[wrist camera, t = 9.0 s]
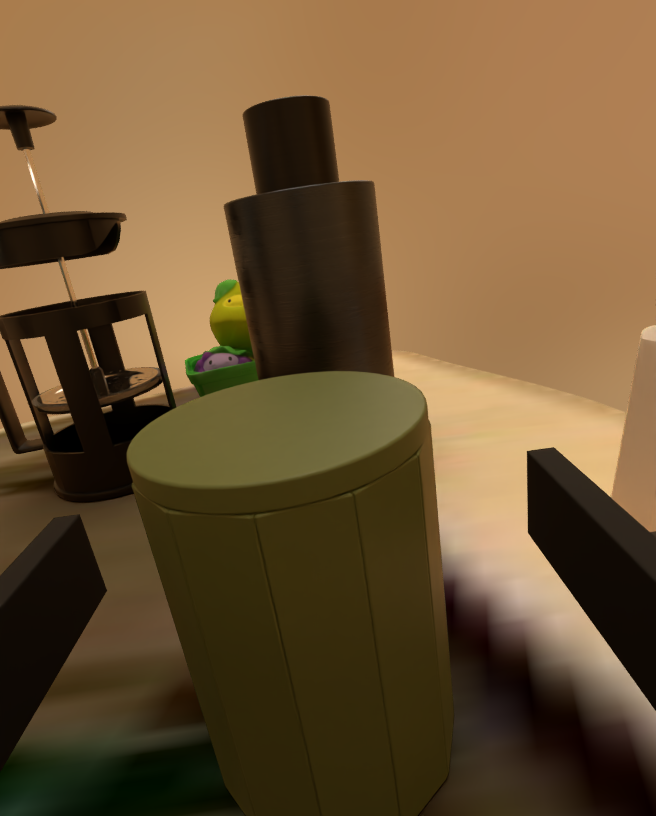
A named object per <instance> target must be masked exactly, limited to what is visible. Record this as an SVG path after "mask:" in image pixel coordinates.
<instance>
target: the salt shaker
mask: <svg viewBox="0 0 656 816" xmlns="http://www.w3.org/2000/svg"><path fill="white" fill-rule="evenodd" d="M611 498H612V499H613V500H614V501H615V502H616V503H617V504H619V505H620V506H621V507H622V508H623V509H624V510H625V511H627V512H628V513H629V514H630V515H631V516H632V517H633V518H634V519H636V520H637V521H638V522H639V523H640V524H641V525H642V526H644V527H645V528H646V529H647V530H648V531H649V532H653V531H656V325H655V326H650V327H647V328H645V329H644V330H643V331H642V333H641V338H640V343H639V347H638V352H637V358H636V363H635V369H634V375H633V380H632V385H631V391H630V396H629V402H628V407H627V413H626V418H625V424H624V429H623V435H622V440H621V446H620V451H619V457H618V462H617V468H616V473H615V479H614V484H613V490H612V495H611Z"/></svg>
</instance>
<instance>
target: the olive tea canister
mask: <svg viewBox="0 0 656 816" xmlns="http://www.w3.org/2000/svg"><path fill="white" fill-rule="evenodd" d="M127 464H128V467H129V470H130V473H131V476H132V480H133V483H132V489H133V492H134V495H135V498H136V502H137V505H138V508H139V511H140V514H141V518H142V521H143V524H144V527H145V530H146V534H147V537H148V540H149V543H150V546H151V550H152V553H153V556H154V559H155V562H156V566H157V569H158V572H159V575H160V578H161V582H162V585H163V588H164V591H165V595H166V598H167V601H168V604H169V607H170V611H171V614H172V617H173V620H174V623H175V627H176V630H177V633H178V636H179V639H180V643H181V646H182V649H183V652H184V655H185V659H186V662H187V665H188V668H189V671H190V675H191V678H192V681H193V684H194V687H195V691H196V694H197V697H198V700H199V704H200V707H201V710H202V713H203V716H204V720H205V723H206V726H207V729H208V732H209V736H210V739H211V742H212V745H213V748H214V752H215V755H216V758H217V761H218V764H219V768H220V771H221V774H222V777H223V780H224V784H225V787H226V788H227V789H228V791H229V792H230V794H231V795H232V797H233V798H234V800H235V801H236V802H237V804H238V805H239V807H240V808H241V810H242V811H243V812H244V814H245V815H246V816H418V814H419V813H420V812H421V811H422V809H423V808H424V807H425V805H426V804H427V803H428V802H429V800H430V799H431V798H432V796H433V795H434V794H435V793H436V791H437V790H438V789H439V787H440V786H441V785H442V784H443V782H444V781H445V780H446V778H447V775H448V774H449V765H450V755H451V744H452V733H453V723H454V707H453V694H452V682H451V670H450V657H449V645H448V633H447V620H446V608H445V596H444V583H443V571H442V559H441V546H440V534H439V522H438V509H437V497H436V485H435V473H434V460H433V448H432V436H431V424H430V421H429V420H428V409H427V402H426V398H425V397H424V395H423V394H422V392H421V391H420V390H419V389H418V388H417V387H416V386H414V385H412V384H411V383H409V382H407V381H404V380H401V379H399V378H395V377H391V376H387V375H382V374H376V373H368V372H354V371H328V372H312V373H302V374H293V375H286V376H280V377H274V378H268V379H263V380H258V381H254V382H249V383H245V384H241V385H237V386H234V387H230V388H227V389H223V390H220V391H217V392H214V393H211V394H208V395H205V396H203V397H200V398H197V399H195V400H192V401H190V402H187V403H185V404H183V405H181V406H179V407H177V408H175V409H172V410H171V411H169V412H167V413H165V414H163V415H162V416H160V417H158V418H157V419H155V420H154V421H152V422H151V423H149V424H148V425H147V426H146V427H144V428H143V429H142V430H141V431H140V432H139V433H138V434H137V435H136V436H135V437H134V438H133V440H132V441H131V443H130V444H129V447H128V450H127Z"/></svg>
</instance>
